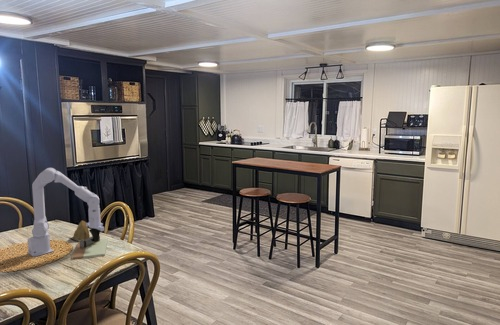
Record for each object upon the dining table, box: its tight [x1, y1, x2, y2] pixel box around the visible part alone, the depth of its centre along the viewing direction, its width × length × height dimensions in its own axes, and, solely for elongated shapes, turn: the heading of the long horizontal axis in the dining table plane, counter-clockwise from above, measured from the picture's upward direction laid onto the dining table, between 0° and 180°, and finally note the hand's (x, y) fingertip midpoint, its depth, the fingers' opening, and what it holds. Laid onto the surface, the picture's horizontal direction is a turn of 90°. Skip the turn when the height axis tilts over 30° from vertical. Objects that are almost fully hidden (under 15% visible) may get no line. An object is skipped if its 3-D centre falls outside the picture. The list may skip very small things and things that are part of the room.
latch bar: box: [81, 235, 101, 247], centre depth 186 cm, size 9×3×3 cm, turn 158°
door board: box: [71, 238, 109, 260], centre depth 181 cm, size 22×15×4 cm
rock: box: [72, 220, 91, 241], centre depth 197 cm, size 11×9×10 cm
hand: (96, 241), depth 187 cm, fingers closed, pressing on latch bar
